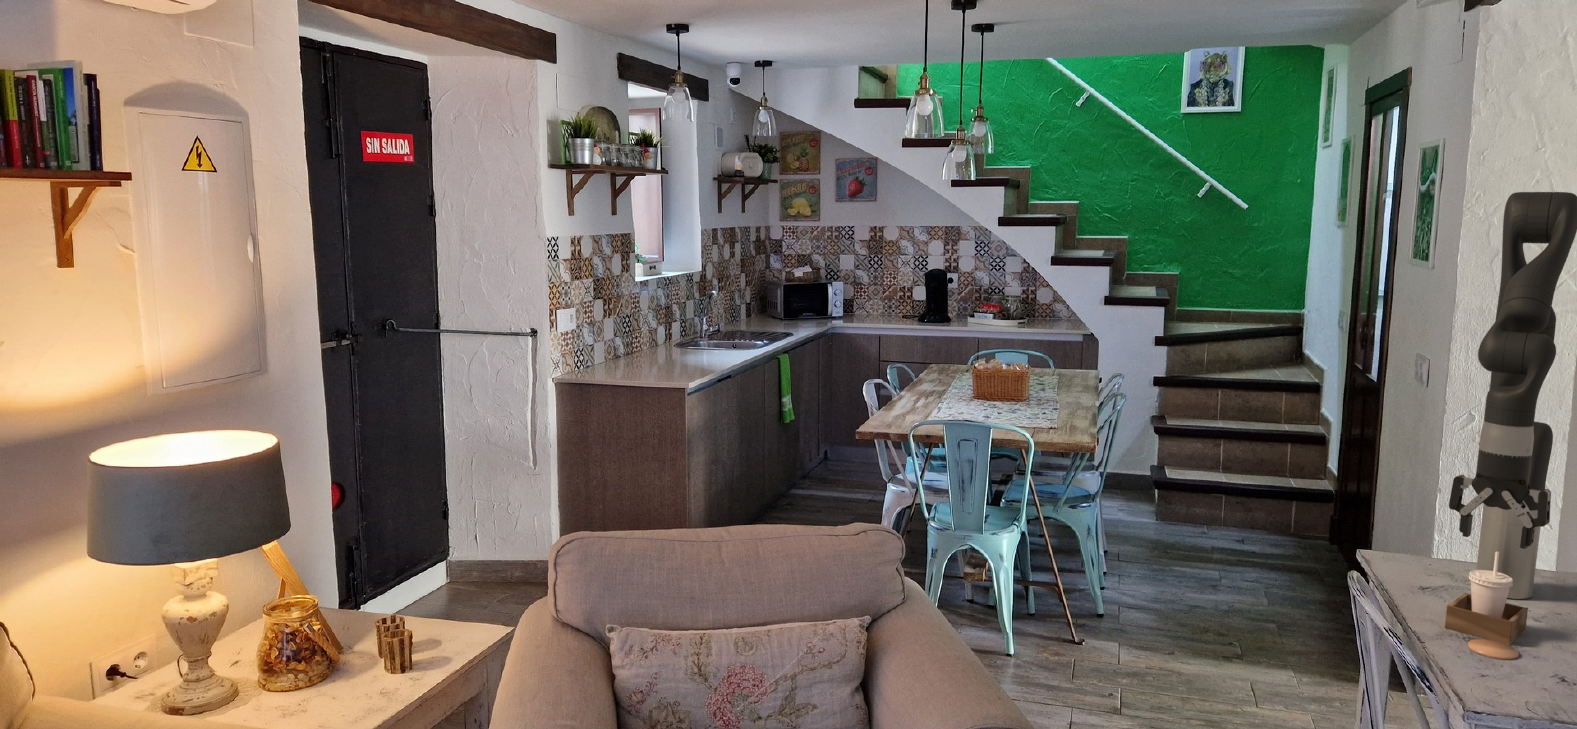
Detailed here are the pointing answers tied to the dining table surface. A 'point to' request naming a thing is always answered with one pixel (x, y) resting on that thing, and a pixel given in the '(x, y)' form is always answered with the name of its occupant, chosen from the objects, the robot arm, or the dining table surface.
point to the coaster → (1493, 649)
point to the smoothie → (1489, 590)
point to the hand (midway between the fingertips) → (1494, 541)
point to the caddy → (1486, 621)
